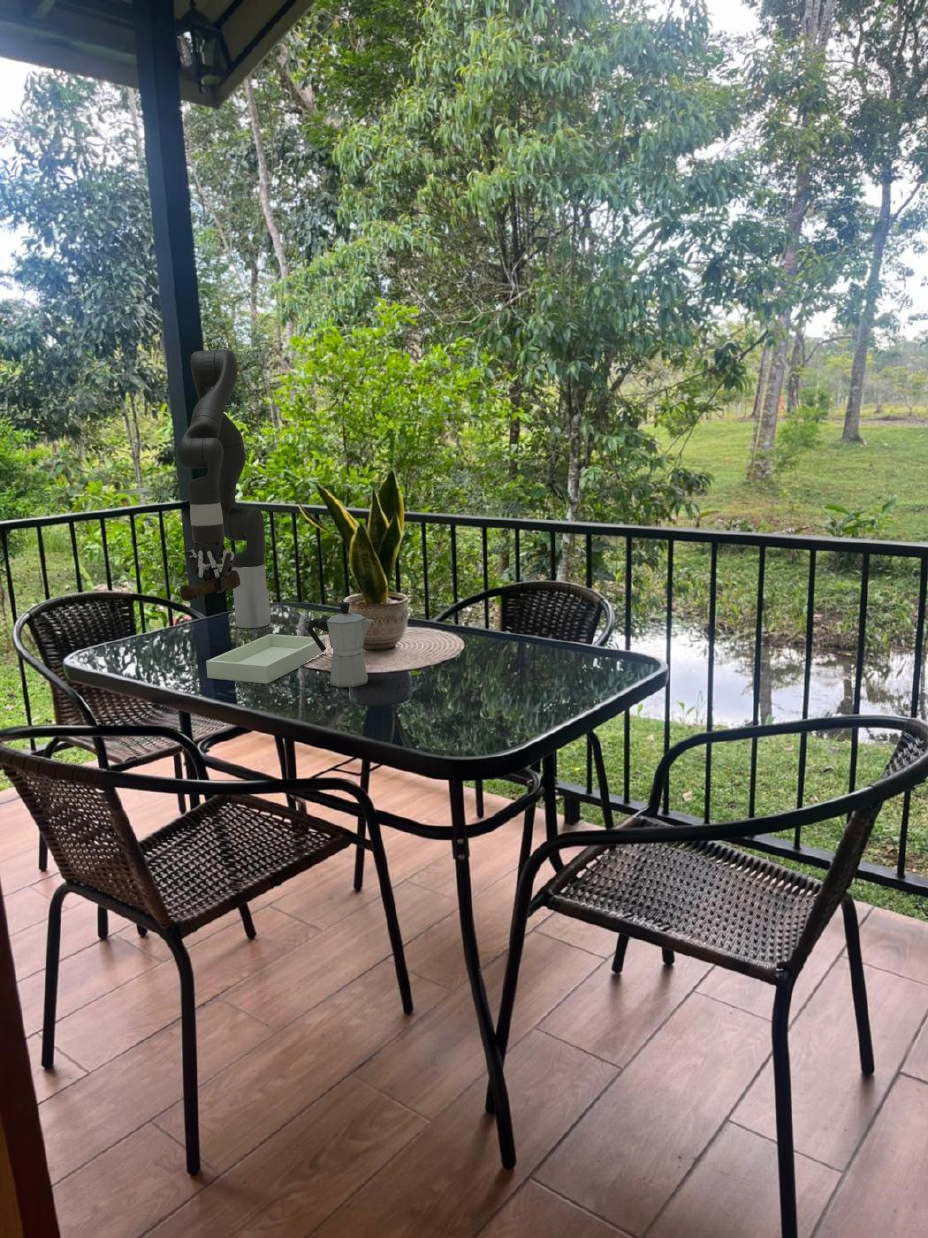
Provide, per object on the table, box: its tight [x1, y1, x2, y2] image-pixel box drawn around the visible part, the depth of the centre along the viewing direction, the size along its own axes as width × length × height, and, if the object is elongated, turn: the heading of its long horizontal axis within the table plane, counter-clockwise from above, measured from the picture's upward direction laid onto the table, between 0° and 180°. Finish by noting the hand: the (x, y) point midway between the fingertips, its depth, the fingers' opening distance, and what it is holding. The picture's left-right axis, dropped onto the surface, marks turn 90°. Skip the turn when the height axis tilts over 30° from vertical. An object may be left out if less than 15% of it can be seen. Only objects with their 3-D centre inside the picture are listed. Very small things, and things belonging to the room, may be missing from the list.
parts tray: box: [205, 633, 327, 684], centre depth 221 cm, size 26×16×4 cm, turn 159°
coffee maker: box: [306, 601, 375, 688], centre depth 204 cm, size 15×9×18 cm, turn 89°
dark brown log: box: [179, 570, 240, 602], centre depth 228 cm, size 19×4×5 cm, turn 150°
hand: (213, 591), depth 228 cm, fingers closed on dark brown log, 3 cm apart
